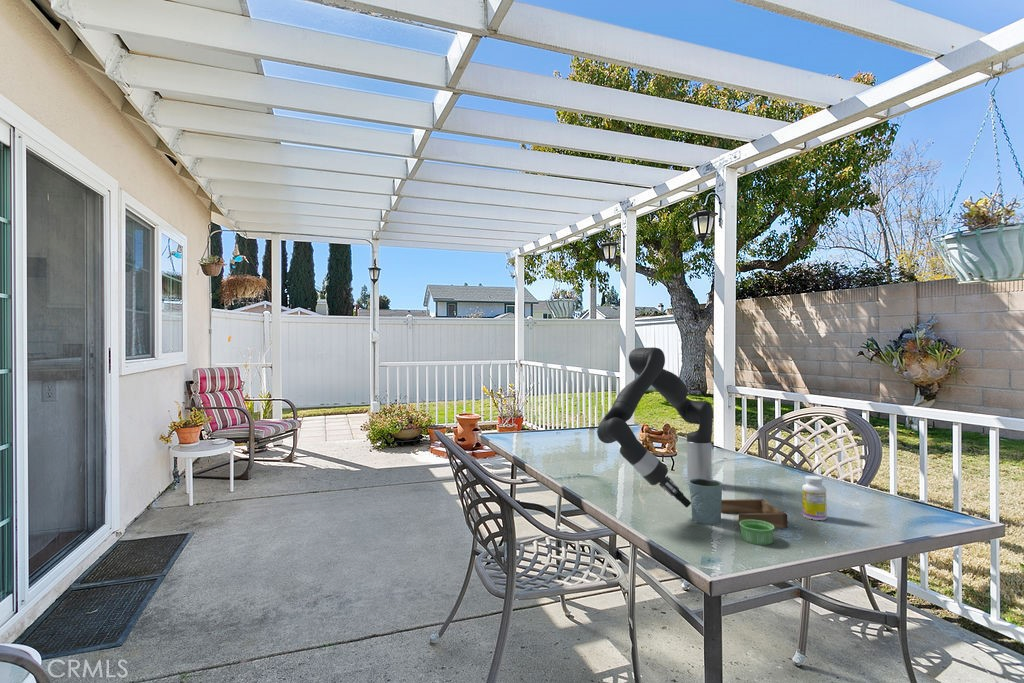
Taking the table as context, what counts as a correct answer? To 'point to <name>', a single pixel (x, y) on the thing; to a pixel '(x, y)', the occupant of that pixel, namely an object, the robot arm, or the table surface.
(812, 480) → the supplement bottle
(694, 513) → the blue-grey plant pot
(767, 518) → the brown piece
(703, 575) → the table surface
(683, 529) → the table surface
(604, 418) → the robot arm
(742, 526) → the ramekin
